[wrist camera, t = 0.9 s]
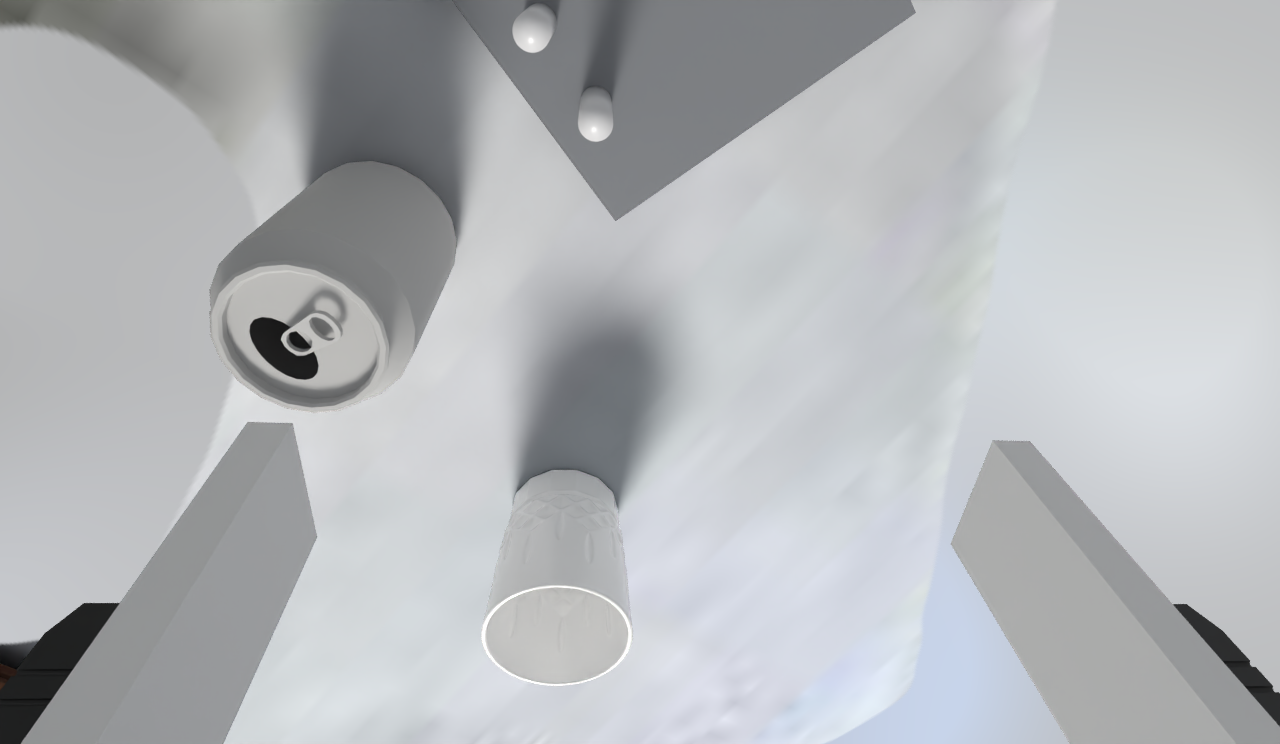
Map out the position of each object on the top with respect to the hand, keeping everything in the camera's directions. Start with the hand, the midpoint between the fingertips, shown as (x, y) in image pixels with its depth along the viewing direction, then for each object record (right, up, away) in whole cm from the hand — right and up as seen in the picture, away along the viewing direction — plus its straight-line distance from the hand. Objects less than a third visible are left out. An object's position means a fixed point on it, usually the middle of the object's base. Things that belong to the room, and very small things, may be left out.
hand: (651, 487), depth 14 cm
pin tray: (+1, +19, +17) cm, 26 cm away
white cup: (-5, -7, +32) cm, 33 cm away
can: (-13, +9, +22) cm, 28 cm away
